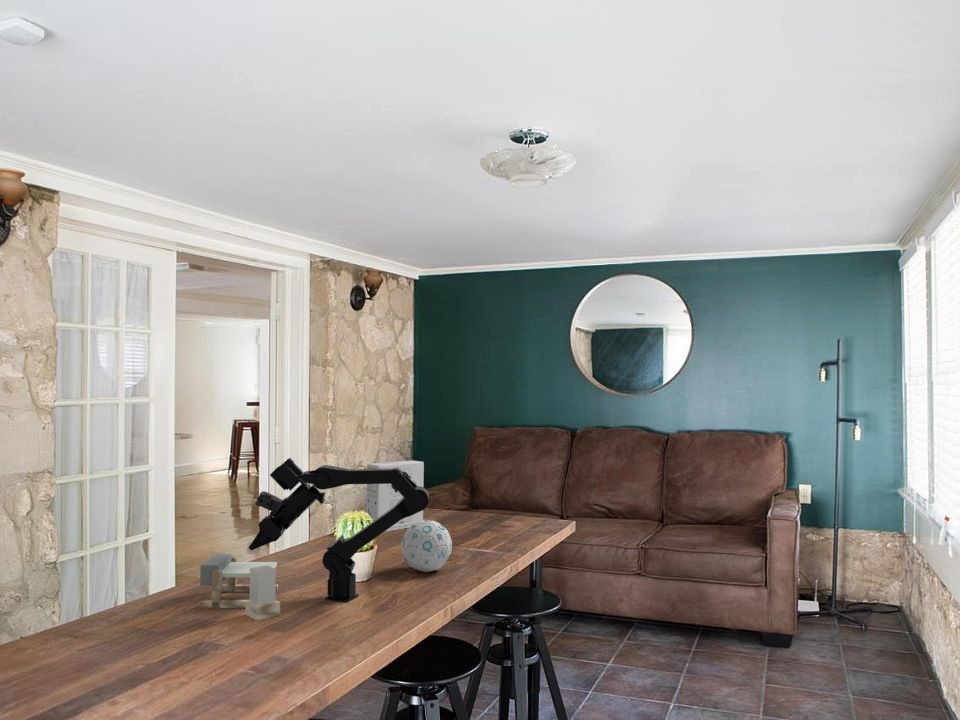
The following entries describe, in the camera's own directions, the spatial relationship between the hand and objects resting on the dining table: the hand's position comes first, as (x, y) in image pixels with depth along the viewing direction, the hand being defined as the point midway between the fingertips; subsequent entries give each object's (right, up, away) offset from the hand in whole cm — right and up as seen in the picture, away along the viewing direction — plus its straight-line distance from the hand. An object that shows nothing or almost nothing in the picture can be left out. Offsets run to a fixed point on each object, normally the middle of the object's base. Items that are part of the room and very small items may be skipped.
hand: (253, 545), depth 200 cm
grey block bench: (-3, -14, 0) cm, 14 cm away
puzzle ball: (+43, -15, +31) cm, 55 cm away
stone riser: (+6, -13, -14) cm, 20 cm away
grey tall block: (+6, -10, -14) cm, 18 cm away
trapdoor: (-3, -9, 0) cm, 9 cm away
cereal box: (+26, -17, +95) cm, 100 cm away
